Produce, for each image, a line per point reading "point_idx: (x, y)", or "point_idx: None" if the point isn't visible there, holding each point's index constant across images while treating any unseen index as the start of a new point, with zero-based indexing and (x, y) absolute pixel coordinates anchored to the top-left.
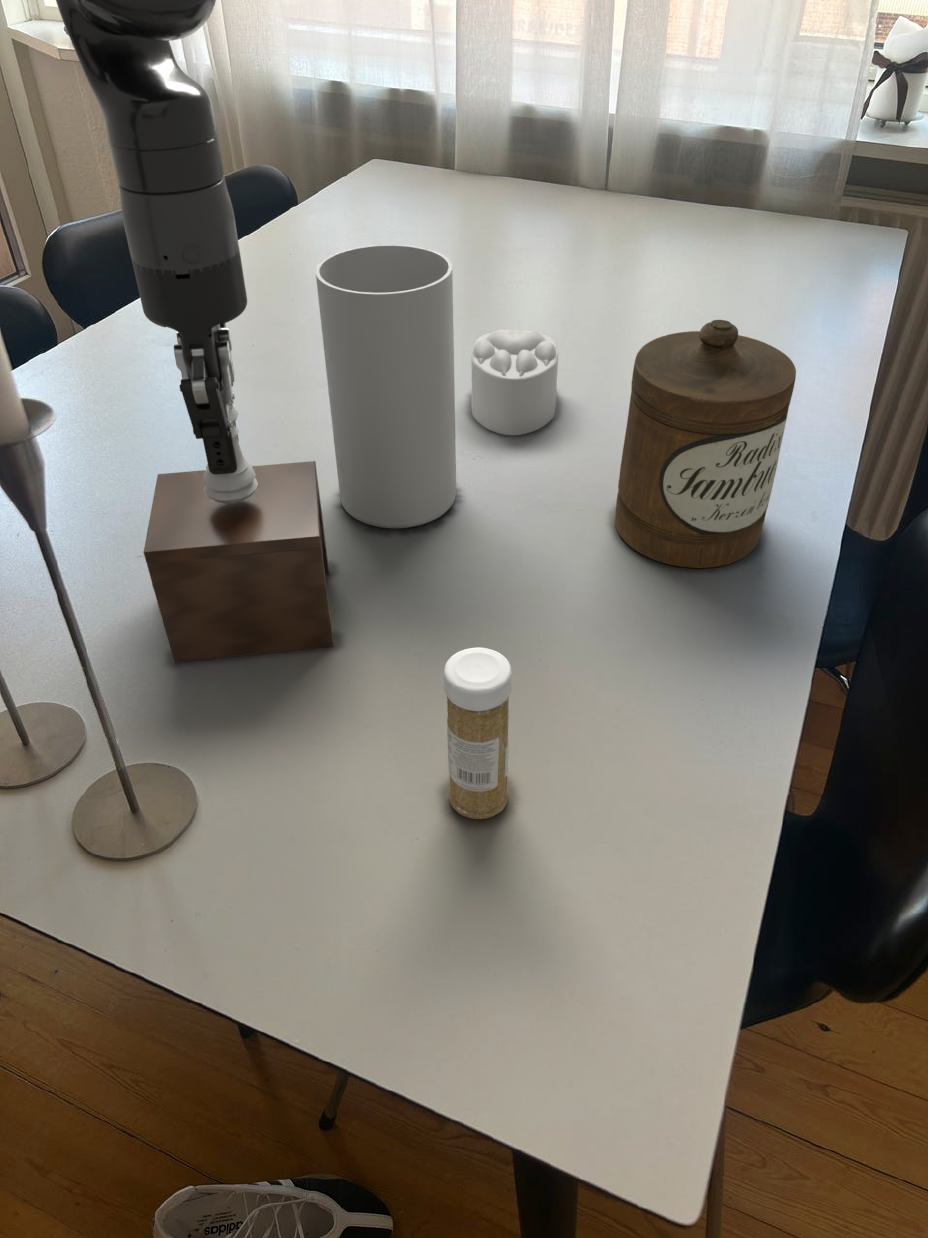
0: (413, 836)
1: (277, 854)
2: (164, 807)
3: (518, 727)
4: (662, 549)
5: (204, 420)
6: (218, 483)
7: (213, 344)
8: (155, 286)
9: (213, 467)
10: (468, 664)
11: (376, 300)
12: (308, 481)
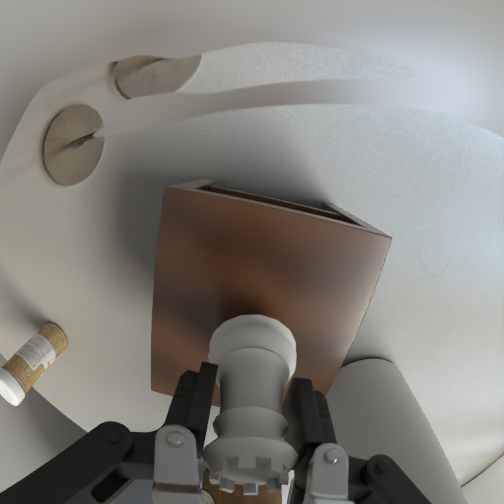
0: (38, 298)
1: (32, 229)
2: (66, 163)
3: (97, 373)
4: None
5: (139, 465)
6: (217, 350)
7: None
8: None
9: (181, 377)
10: (4, 390)
11: None
12: None
